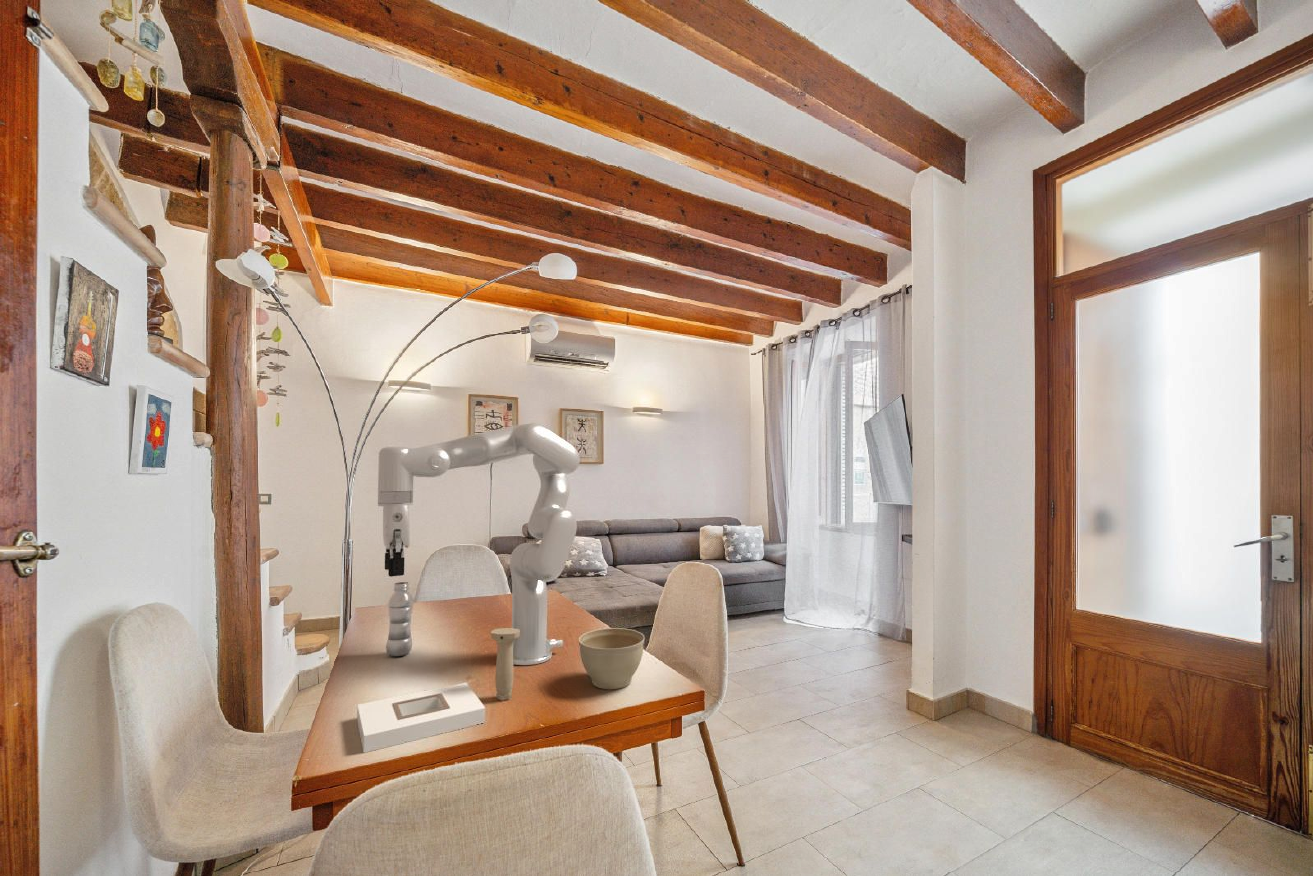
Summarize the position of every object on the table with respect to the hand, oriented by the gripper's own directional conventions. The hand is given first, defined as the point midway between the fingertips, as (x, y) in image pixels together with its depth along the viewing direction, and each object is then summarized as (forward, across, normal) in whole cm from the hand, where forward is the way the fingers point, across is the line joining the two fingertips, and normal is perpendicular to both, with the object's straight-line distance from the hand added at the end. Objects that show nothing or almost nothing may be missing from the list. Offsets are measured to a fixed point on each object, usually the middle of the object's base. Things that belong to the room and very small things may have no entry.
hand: (394, 572), depth 126 cm
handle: (+28, -16, -22) cm, 39 cm away
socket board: (+28, -18, -4) cm, 34 cm away
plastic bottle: (+28, +29, -4) cm, 41 cm away
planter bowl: (+29, -20, -47) cm, 58 cm away
